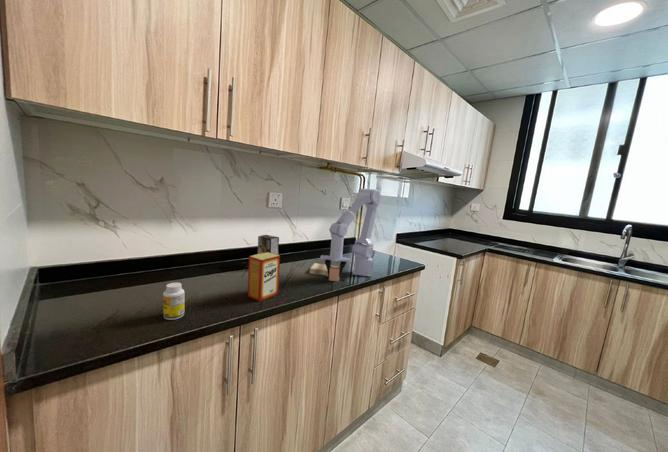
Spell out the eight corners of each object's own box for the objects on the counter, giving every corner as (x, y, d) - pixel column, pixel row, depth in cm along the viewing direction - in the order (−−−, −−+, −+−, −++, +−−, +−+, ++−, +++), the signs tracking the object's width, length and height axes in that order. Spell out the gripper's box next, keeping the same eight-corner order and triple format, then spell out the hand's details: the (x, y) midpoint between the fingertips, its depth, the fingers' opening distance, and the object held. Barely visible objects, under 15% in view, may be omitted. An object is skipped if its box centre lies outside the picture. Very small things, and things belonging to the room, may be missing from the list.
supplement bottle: (163, 314, 80) (162, 282, 79) (183, 310, 83) (183, 280, 82) (163, 322, 76) (163, 289, 74) (185, 318, 79) (185, 286, 77)
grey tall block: (278, 267, 134) (279, 237, 132) (270, 270, 129) (271, 238, 126) (265, 263, 138) (266, 234, 136) (256, 266, 133) (257, 235, 130)
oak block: (332, 270, 137) (332, 265, 137) (329, 276, 127) (329, 270, 127) (314, 268, 138) (314, 263, 138) (309, 274, 129) (310, 268, 128)
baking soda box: (266, 289, 105) (268, 251, 103) (278, 293, 102) (280, 254, 100) (247, 296, 97) (249, 255, 95) (259, 301, 94) (261, 259, 92)
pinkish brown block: (339, 278, 125) (340, 266, 124) (338, 281, 120) (339, 269, 120) (330, 277, 125) (331, 265, 125) (328, 280, 121) (329, 268, 120)
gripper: (320, 248, 118) (317, 276, 120) (351, 252, 116) (348, 280, 118) (322, 245, 125) (320, 272, 127) (352, 248, 123) (350, 275, 125)
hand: (334, 276), depth 123 cm, fingers closed on pinkish brown block, 4 cm apart
